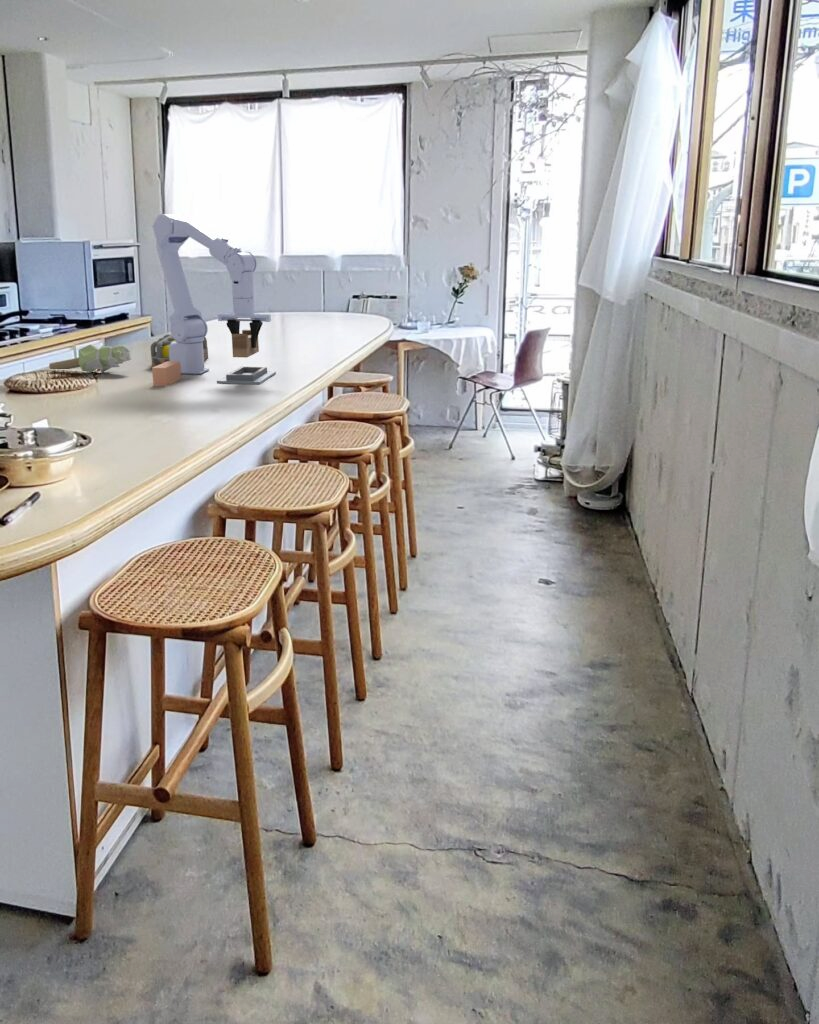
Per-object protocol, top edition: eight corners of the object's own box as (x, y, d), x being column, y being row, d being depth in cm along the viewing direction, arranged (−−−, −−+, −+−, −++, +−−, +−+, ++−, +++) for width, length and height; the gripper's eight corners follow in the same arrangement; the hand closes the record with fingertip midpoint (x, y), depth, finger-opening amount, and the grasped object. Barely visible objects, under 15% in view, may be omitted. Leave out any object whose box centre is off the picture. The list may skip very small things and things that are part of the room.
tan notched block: (247, 357, 230) (245, 334, 228) (232, 357, 231) (231, 334, 229) (258, 351, 241) (257, 329, 239) (245, 351, 242) (244, 329, 240)
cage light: (145, 343, 248) (165, 332, 276) (147, 370, 251) (167, 356, 279) (195, 343, 249) (210, 332, 278) (197, 370, 252) (211, 356, 280)
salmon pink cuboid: (166, 386, 226) (164, 368, 224) (153, 386, 226) (151, 367, 224) (181, 379, 237) (180, 361, 236) (169, 378, 237) (167, 361, 236)
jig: (217, 383, 230) (216, 375, 230) (236, 372, 247) (235, 365, 247) (259, 384, 229) (259, 376, 229) (275, 373, 246) (275, 366, 246)
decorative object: (41, 372, 240) (121, 357, 236) (45, 345, 244) (124, 329, 240) (59, 389, 248) (136, 374, 244) (62, 362, 252) (139, 347, 248)
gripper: (213, 298, 228) (216, 348, 232) (265, 299, 227) (267, 349, 231) (221, 296, 235) (224, 345, 239) (271, 297, 233) (273, 346, 238)
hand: (245, 347), depth 235 cm, fingers closed on tan notched block, 4 cm apart
